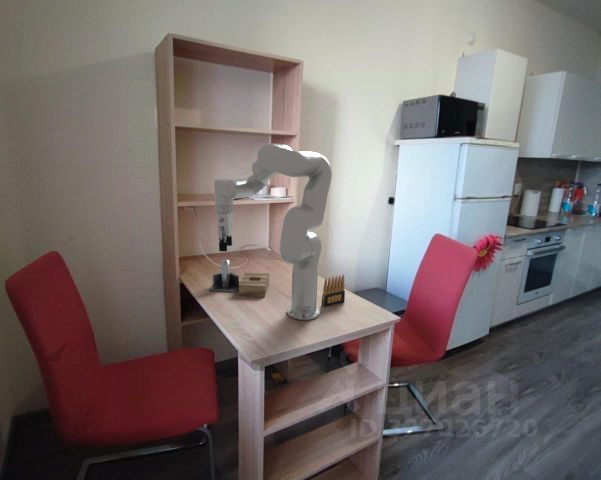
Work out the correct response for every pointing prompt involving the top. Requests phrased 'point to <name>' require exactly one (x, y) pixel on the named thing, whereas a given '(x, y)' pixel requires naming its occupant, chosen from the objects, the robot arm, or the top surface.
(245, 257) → the top surface
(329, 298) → the ammunition clip
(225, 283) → the axle
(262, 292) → the wooden block with hole
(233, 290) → the v block
